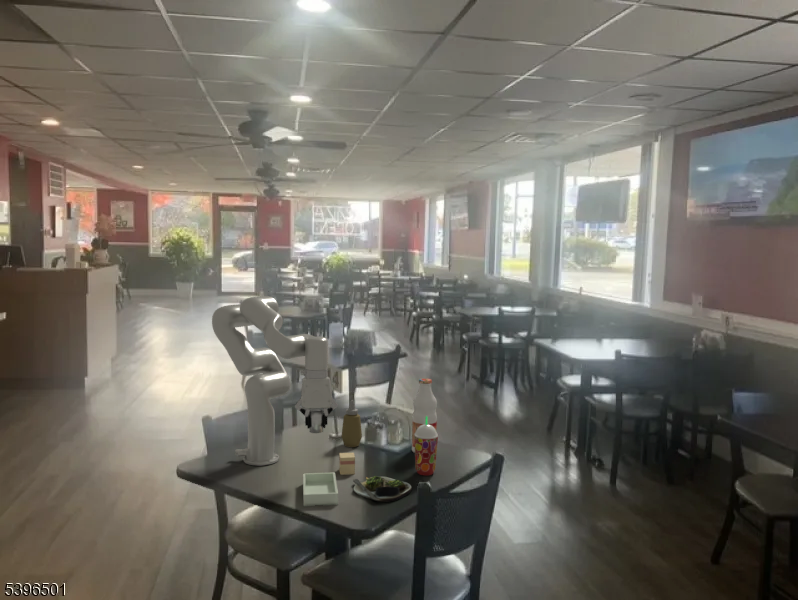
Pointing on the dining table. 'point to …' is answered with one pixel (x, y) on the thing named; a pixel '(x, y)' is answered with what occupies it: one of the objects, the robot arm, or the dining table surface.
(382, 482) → the salad plate
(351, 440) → the squeeze bottle
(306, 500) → the tote
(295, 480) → the dining table surface
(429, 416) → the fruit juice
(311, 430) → the steel can
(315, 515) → the dining table surface
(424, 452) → the smoothie
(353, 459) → the cardboard box
